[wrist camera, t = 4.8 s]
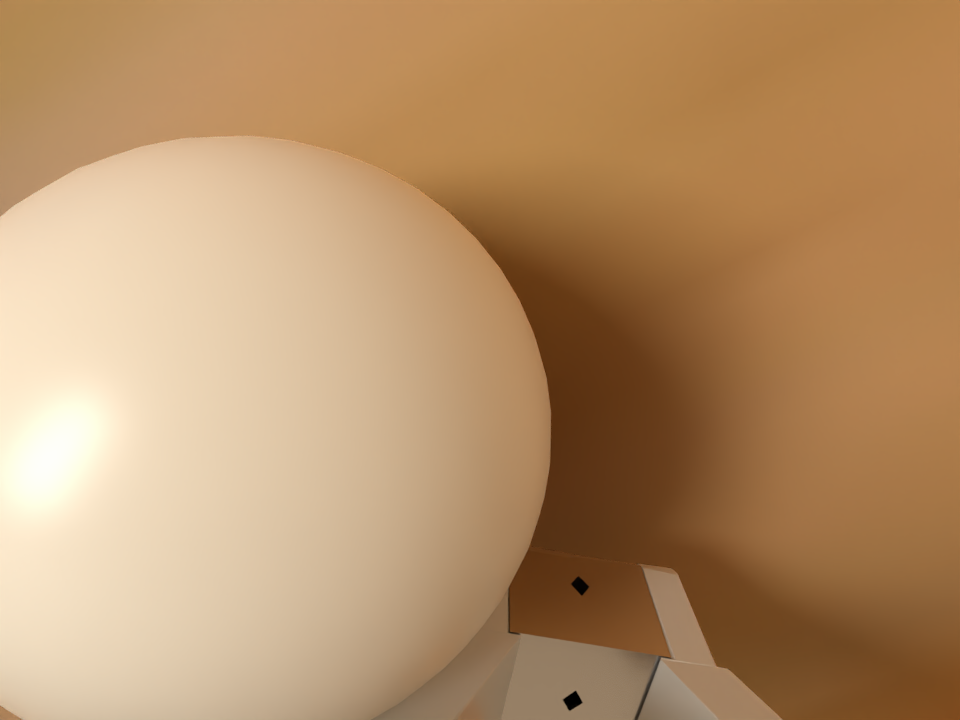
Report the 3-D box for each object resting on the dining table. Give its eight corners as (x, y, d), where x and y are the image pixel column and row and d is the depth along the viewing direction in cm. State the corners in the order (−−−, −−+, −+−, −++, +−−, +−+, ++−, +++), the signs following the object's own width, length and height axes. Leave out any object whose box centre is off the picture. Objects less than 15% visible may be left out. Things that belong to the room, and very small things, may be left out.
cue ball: (392, 557, 9) (243, 1036, 4) (111, 361, 8) (-521, 670, 3) (620, 324, 8) (824, 643, 3) (301, 49, 7) (-367, -304, 2)
